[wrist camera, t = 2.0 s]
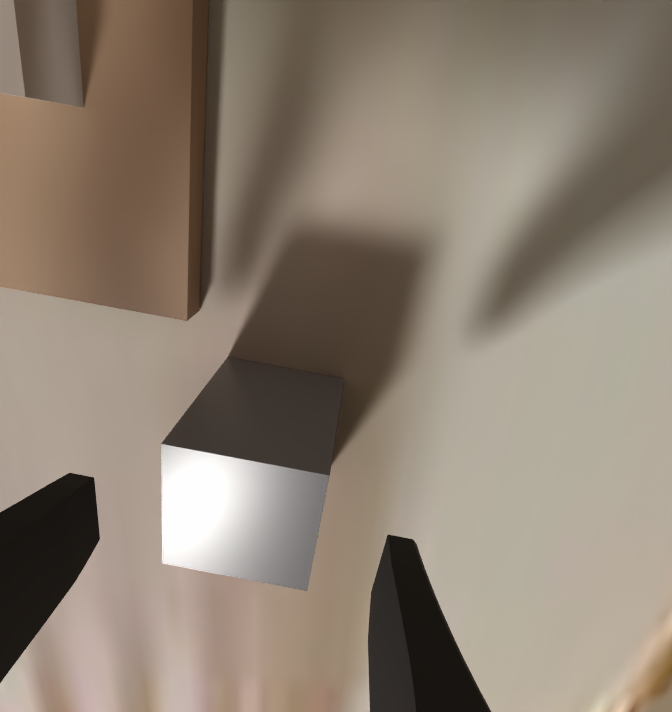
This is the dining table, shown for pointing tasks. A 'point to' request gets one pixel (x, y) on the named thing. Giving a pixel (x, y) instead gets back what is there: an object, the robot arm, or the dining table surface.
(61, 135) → the dock
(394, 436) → the dining table surface
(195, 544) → the grey matte cube
